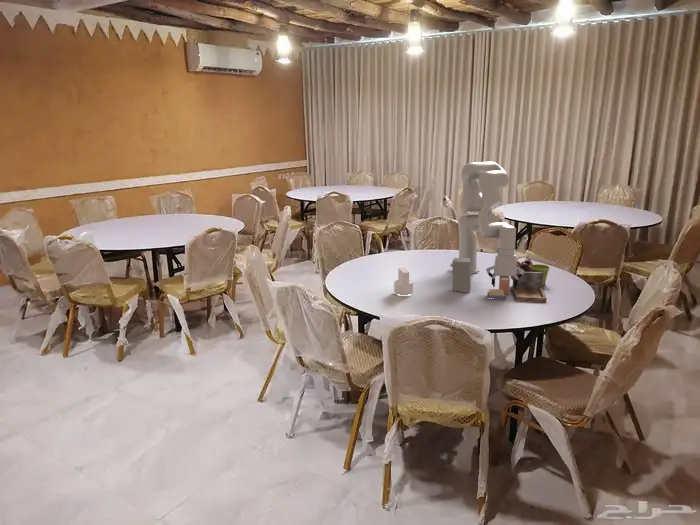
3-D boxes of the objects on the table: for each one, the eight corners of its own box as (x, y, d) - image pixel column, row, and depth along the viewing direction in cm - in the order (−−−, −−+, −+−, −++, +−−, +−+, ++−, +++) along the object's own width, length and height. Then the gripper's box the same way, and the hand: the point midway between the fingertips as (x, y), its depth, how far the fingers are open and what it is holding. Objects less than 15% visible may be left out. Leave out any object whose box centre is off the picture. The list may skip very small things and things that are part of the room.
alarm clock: (528, 283, 254) (530, 254, 250) (533, 286, 249) (535, 257, 245) (508, 285, 252) (510, 256, 248) (513, 288, 248) (514, 258, 244)
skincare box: (470, 289, 248) (472, 257, 244) (469, 293, 242) (470, 261, 237) (453, 287, 251) (454, 256, 247) (451, 292, 244) (452, 260, 240)
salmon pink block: (500, 295, 238) (500, 279, 236) (498, 289, 247) (499, 273, 244) (508, 295, 237) (509, 279, 235) (507, 289, 246) (508, 273, 244)
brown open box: (515, 300, 230) (516, 282, 228) (512, 289, 246) (513, 271, 244) (546, 302, 227) (547, 283, 225) (541, 290, 243) (542, 272, 241)
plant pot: (550, 286, 249) (551, 269, 246) (530, 285, 251) (531, 269, 248) (547, 280, 257) (548, 264, 255) (527, 280, 259) (528, 263, 257)
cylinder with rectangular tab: (415, 296, 240) (415, 271, 237) (396, 297, 238) (396, 273, 235) (410, 290, 248) (410, 266, 245) (392, 291, 247) (392, 268, 244)
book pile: (487, 299, 233) (487, 291, 232) (487, 296, 237) (487, 288, 236) (503, 300, 231) (504, 292, 230) (503, 297, 235) (503, 289, 234)
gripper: (487, 253, 235) (485, 288, 239) (526, 254, 231) (524, 289, 236) (486, 249, 242) (485, 283, 246) (524, 250, 238) (522, 284, 243)
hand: (504, 286), depth 241 cm, fingers open, 9 cm apart
